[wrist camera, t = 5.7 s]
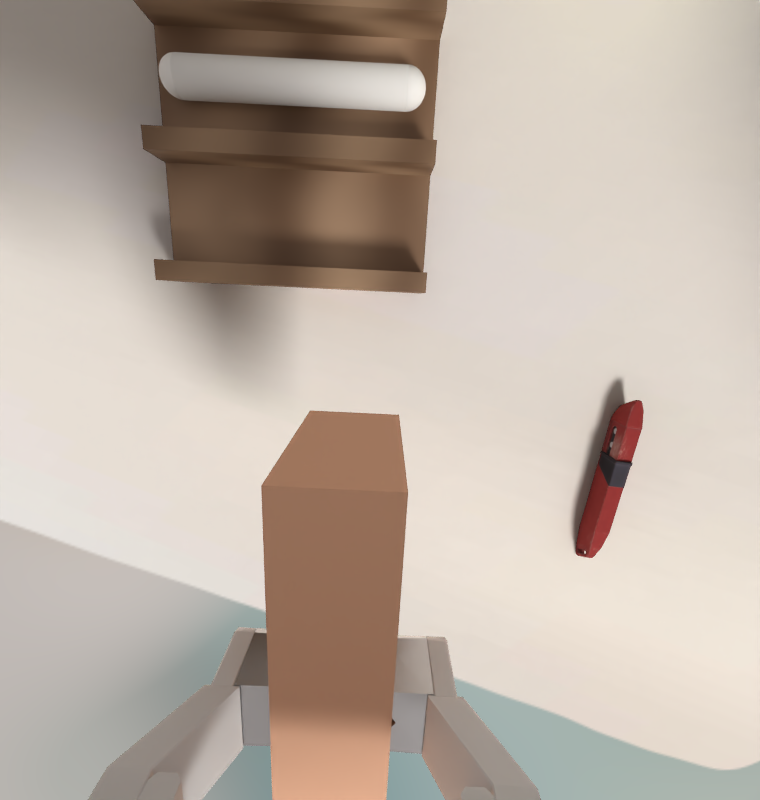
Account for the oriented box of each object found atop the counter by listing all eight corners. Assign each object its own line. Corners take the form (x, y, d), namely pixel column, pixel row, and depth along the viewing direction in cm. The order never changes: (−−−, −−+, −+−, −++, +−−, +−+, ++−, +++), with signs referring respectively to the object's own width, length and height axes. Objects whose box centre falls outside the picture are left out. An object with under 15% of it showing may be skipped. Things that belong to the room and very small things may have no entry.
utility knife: (614, 393, 25) (634, 401, 23) (631, 395, 25) (652, 403, 23) (569, 552, 28) (582, 570, 26) (584, 554, 28) (598, 573, 26)
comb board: (438, 29, 20) (448, -17, 17) (420, 293, 23) (425, 292, 20) (163, 14, 20) (125, -34, 17) (184, 281, 23) (155, 279, 20)
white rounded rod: (425, 77, 20) (429, 56, 18) (422, 119, 20) (426, 102, 18) (169, 64, 20) (148, 41, 18) (172, 106, 20) (152, 88, 18)
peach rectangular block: (310, 410, 11) (261, 485, 7) (398, 414, 11) (408, 492, 7) (310, 729, 14) (276, 923, 10) (379, 733, 14) (377, 927, 10)
